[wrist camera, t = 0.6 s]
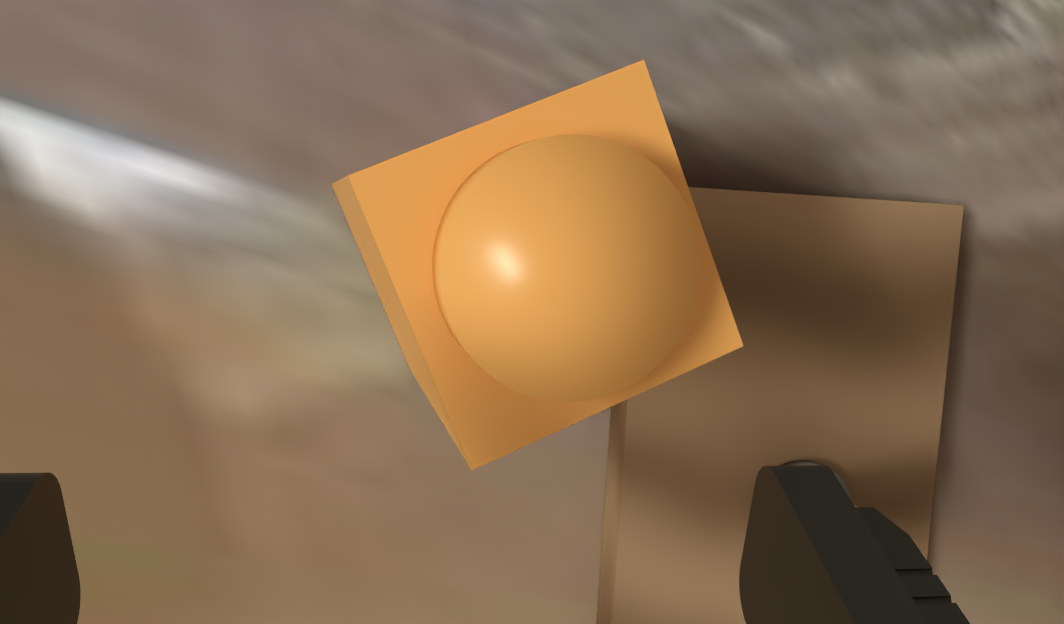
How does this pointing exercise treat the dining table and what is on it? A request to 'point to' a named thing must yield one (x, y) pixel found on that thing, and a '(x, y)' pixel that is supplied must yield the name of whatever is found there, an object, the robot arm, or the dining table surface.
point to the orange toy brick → (542, 263)
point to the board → (784, 393)
